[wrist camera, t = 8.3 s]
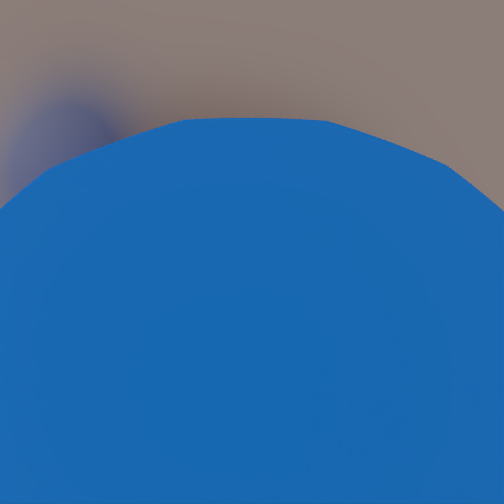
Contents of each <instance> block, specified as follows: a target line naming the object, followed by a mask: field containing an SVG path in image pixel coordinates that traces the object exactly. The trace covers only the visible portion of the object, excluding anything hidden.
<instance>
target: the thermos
mask: <svg viewBox="0 0 504 504" xmlns="http://www.w3.org/2000/svg"><path fill="white" fill-rule="evenodd" d="M0 504H504V211H502V210H501V209H500V208H499V207H498V206H497V205H496V204H494V203H493V202H492V201H491V200H490V199H489V198H487V197H486V196H485V195H484V194H483V193H481V192H480V191H479V190H478V189H477V188H475V187H474V186H473V185H472V184H470V183H469V182H468V181H467V180H465V179H464V178H462V177H461V176H460V175H459V174H457V173H456V172H455V171H453V170H452V169H451V168H449V167H448V166H447V165H444V164H442V163H440V162H438V161H436V160H433V159H431V158H428V157H426V156H424V155H421V154H419V153H416V152H414V151H412V150H409V149H406V148H404V147H402V146H399V145H396V144H394V143H391V142H388V141H386V140H382V139H380V138H377V137H375V136H372V135H369V134H366V133H363V132H360V131H357V130H354V129H351V128H348V127H344V126H342V125H338V124H335V123H332V122H329V121H319V120H303V119H281V118H213V119H191V120H182V121H178V122H175V123H171V124H168V125H165V126H161V127H159V128H155V129H152V130H149V131H146V132H143V133H140V134H137V135H134V136H131V137H128V138H125V139H122V140H119V141H117V142H114V143H111V144H108V145H106V146H103V147H100V148H98V149H96V150H93V151H90V152H88V153H85V154H83V155H80V156H78V157H76V158H74V159H71V160H68V161H66V162H64V163H62V164H59V165H57V166H55V167H52V168H50V169H48V170H47V171H46V172H44V173H43V174H42V175H40V176H39V177H38V178H36V179H35V180H34V181H33V182H31V183H30V184H29V185H28V186H26V187H25V188H24V189H23V190H22V191H20V192H19V193H18V194H17V195H16V196H15V197H13V198H12V199H11V200H10V201H9V202H8V203H7V204H5V205H4V206H3V207H2V208H1V209H0Z"/></svg>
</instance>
